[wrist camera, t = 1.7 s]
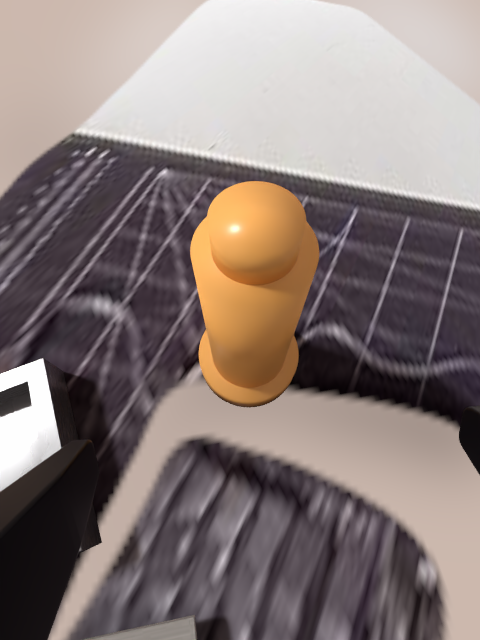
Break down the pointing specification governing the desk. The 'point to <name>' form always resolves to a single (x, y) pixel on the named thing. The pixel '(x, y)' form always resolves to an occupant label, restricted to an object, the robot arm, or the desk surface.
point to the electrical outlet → (157, 631)
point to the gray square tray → (36, 426)
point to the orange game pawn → (252, 290)
